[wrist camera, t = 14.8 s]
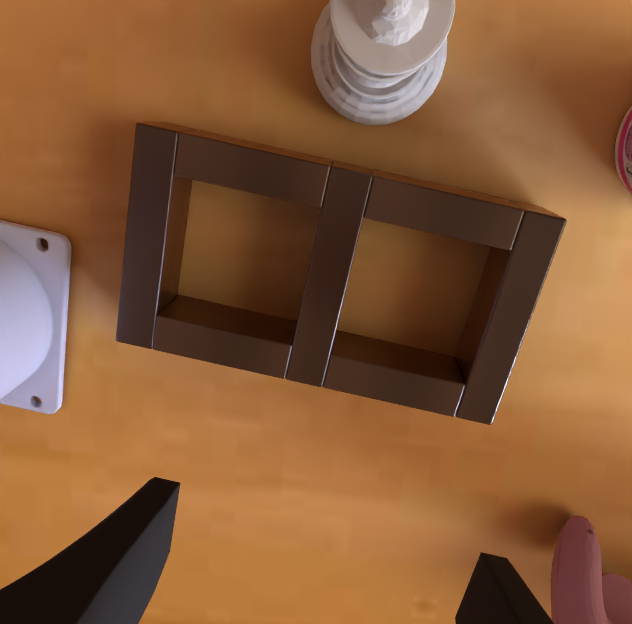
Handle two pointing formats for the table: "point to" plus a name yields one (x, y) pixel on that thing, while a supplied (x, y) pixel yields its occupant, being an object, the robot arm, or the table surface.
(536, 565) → the table surface
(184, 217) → the stand
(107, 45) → the table surface
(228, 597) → the table surface
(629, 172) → the pill bottle
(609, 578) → the video game controller
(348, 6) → the chess piece
